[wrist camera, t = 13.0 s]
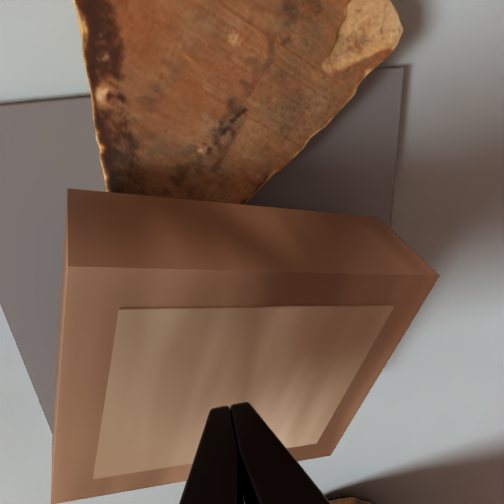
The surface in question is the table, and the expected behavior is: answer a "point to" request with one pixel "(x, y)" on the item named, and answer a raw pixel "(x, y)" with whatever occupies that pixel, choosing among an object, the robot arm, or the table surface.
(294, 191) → the mat
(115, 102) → the shard
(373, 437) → the table surface
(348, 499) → the brown oblong lump
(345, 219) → the slab
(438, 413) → the table surface
